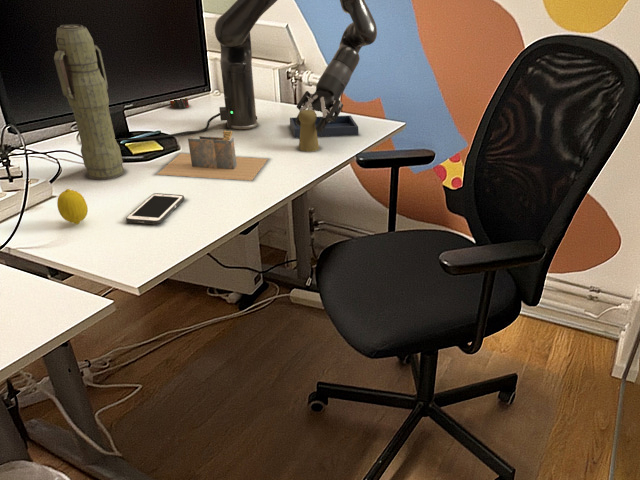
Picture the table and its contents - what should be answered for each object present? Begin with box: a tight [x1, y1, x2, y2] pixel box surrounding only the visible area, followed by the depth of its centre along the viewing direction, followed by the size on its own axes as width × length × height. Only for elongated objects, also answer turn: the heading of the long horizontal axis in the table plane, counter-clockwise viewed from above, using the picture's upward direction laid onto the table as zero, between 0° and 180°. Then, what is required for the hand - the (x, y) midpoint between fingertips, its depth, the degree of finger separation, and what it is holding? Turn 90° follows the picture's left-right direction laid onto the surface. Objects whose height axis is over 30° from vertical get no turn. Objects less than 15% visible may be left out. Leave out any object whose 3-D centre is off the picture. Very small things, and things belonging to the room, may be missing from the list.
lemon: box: [56, 188, 89, 225], centre depth 127 cm, size 6×6×8 cm
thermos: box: [53, 23, 125, 181], centre depth 145 cm, size 9×12×35 cm
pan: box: [289, 115, 359, 139], centre depth 191 cm, size 20×13×3 cm, turn 105°
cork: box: [297, 109, 320, 153], centre depth 174 cm, size 6×6×11 cm
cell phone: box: [125, 192, 185, 225], centre depth 136 cm, size 8×15×1 cm, turn 175°
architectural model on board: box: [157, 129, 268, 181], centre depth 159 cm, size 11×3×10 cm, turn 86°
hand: (307, 127), depth 173 cm, fingers open, 8 cm apart
